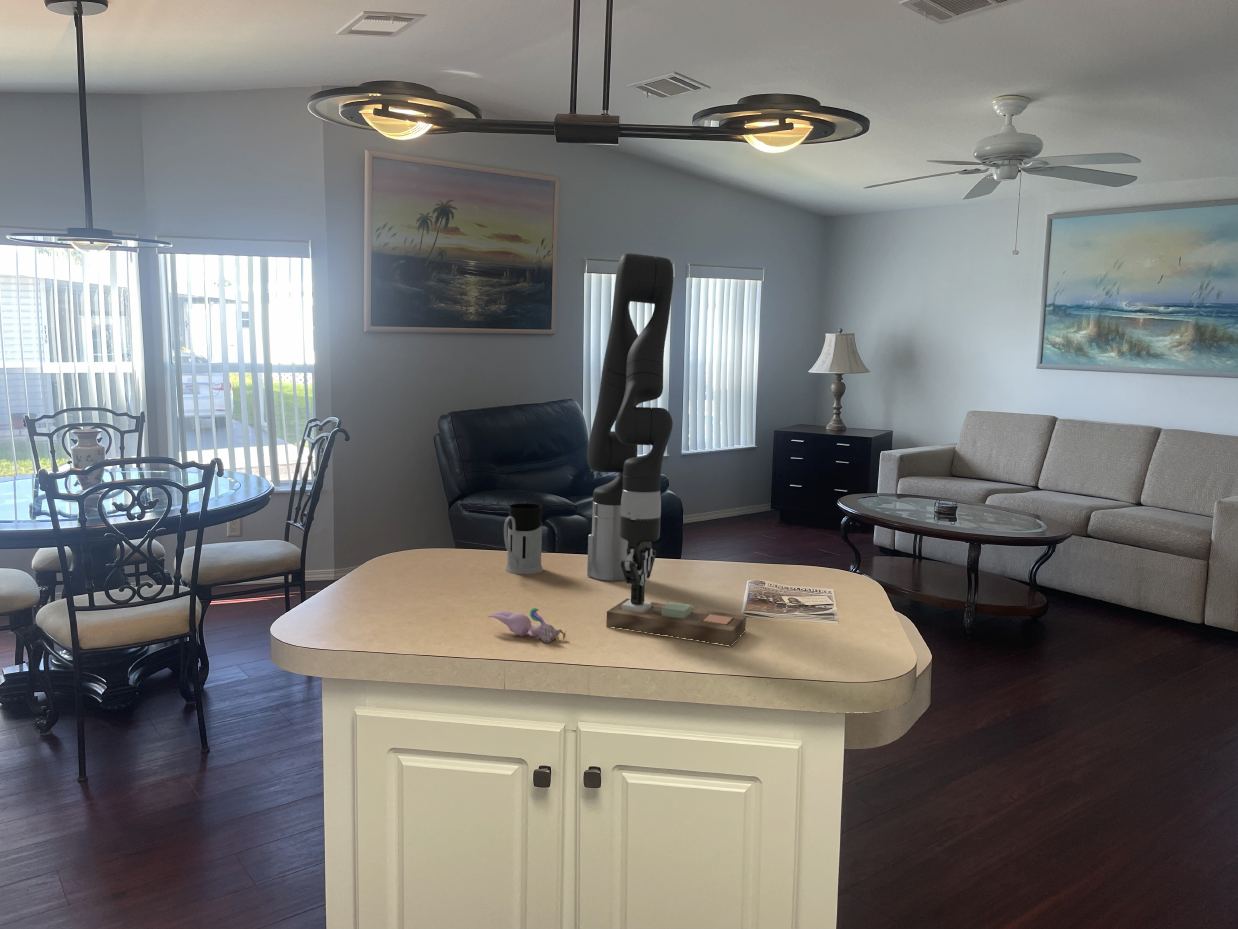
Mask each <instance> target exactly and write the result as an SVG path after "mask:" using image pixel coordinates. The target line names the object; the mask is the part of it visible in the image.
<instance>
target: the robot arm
mask: <svg viewBox="0 0 1238 929" xmlns="http://www.w3.org/2000/svg"><path fill="white" fill-rule="evenodd" d="M673 266H674V265H673V263H672V261H671V260H670V259H669V258H666V257H663V256H658V255H657V256H654V255H647V254H639V253H629V252H628V253H624V254H623V255H621V257H620V259H619V261H618V264H617V269H616V275H615V283H614V292H613V300H612V301H613V302H612V312H611V321H610V328H609V333H608V338H607V344H606V349H605V354H604V359H603V364H602V370H601V377H600V386H599V393H598V401H597V405H596V412H595V414H594V419H593V421H592V422H593V423H592V427H591V430H590V435H589V438H588V445H587V453H586V459H587V465H588V467H589V469H591V471H593V472H597V473H617V476H616V477H615V478H614V479H613V480H612V481H609V482H608V483H606V484H602V485H601V486H598V487H595V489H594V490H593V493H592V520H591V521H592V522H591V533H590V534H588V537H587V539H588V540H587V544H588V545H587V571H586V573H587V574H586V576H587V577H590V578H594V579H596V580H600V581H608V582H611V581H612V582H613V581H614V582H617V581H624V580H625V583H626V584H629V585H630V586H631V587H630V588H631V589H630V599H631V603H632V604H636V605H641V604H642V603H644V601H645V594H646V584H647V583H648V579H650V577H651V574H652V572H653V566H654V563H655V559H656V557H657V550H656V549H653V548H652V546H653V544H652V542H655V541H658V540H659V539H660V538H661V518H662V517H661V514H662V497H661V483H662V482H661V478H662V466H663V460H664V456H665V452H666V448H667V445H668V443H669V440H670V437H671V434H672V430H673V426H674V425H673V418H672V415H671V413H670V412H669V411H668V410H667V409H665V408H663V407H650V406H649V407H647V406H643V407H642V406H638V405H640V404H642V403H645V402H652V401H654V400H657V399H659V398H660V397H661V396H662V394H663V392H664V391H663V390H664V364H665V363H664V362H665V361H664V357H665V348H666V347H665V346H666V345H665V344H666V339H667V333H668V327H669V326H668V325H669V320H670V313H671V305H672V304H671V303H672V299H673V298H672V297H673V288H674V268H673ZM631 302H632V303H633V302H634V303H641V304H642V303H643V304H651V305H654V308H653V313H652V315H651V317H650V319H649V320H648V322H647V323H646V325H645V326H644V327H643V329H642V331H641V332H640V334H639V333H638V332H637V331H636V328H635V325H634V324H633V323H634V322H633V320H632V317H631V312H630V309H629V306H630V303H631ZM613 426H614V430H613V431H612V428H613ZM638 446H651V449H650V451H649V452H648V453H647V454H645V455H641V456H640V455H638V452H639V451H638Z"/></svg>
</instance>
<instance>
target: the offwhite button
mask: <svg viewBox="0 0 1238 929" xmlns="http://www.w3.org/2000/svg"><path fill="white" fill-rule="evenodd" d="M629 599H630V600H628V601H627V602H625V603H623V604H622V610H628V611H635V612H641V613H645V612H646V611H648V610H649V609H650V608H651V606H652V601H648V602H647V601H646V600H644V603H642V604H641V605H636V604H632V603H631V598H629Z"/></svg>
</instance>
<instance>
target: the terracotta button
mask: <svg viewBox="0 0 1238 929" xmlns="http://www.w3.org/2000/svg"><path fill="white" fill-rule="evenodd" d="M732 621H733V618H732V617H725V616H718V615H711V614H710V615H708V616H707V617H706V618H705V619H704V620H703V622H707V623H713V624H720V625H728V624H730V623H731V622H732Z"/></svg>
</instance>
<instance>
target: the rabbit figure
mask: <svg viewBox="0 0 1238 929" xmlns="http://www.w3.org/2000/svg"><path fill="white" fill-rule="evenodd" d="M538 611H539V609H538V608H536V607H533V608H531V610H530V612H529V616H530V618H531V619H532V620H533V621H535V622H539V623H540V624H539V625H536V626H535V625H532V621H531V619H530V618H529V617H528V616H527V615H526V614H524V613H523V612H522V613H521V612H515V613H514V612H511V611H508V610H499V611H496V612H493V613H491V614H489V615H487V618H494V619H496V620H498V621H499V622H501V623H503V624H504V625H506V626H507V628H508V630H509V631H510V632H512V633H514V634H515V635H517V636H519V637H525V636H527V635H529V636H530V637H537V638H540V639H541V641H542V642H544V643H546V644H549V643H551V642H552V641H555V640H556V645H558V643H560V634H562V640H563V641H565V640H566V639H567V638H566V632H567V631H563V630H562V629H561V628H559V629H556V628H555V627H554V626H553V625H552V624H549V623H546V622H545V621H544V619H543V618H542V616H541V615H540V614H539V613H538Z"/></svg>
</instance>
